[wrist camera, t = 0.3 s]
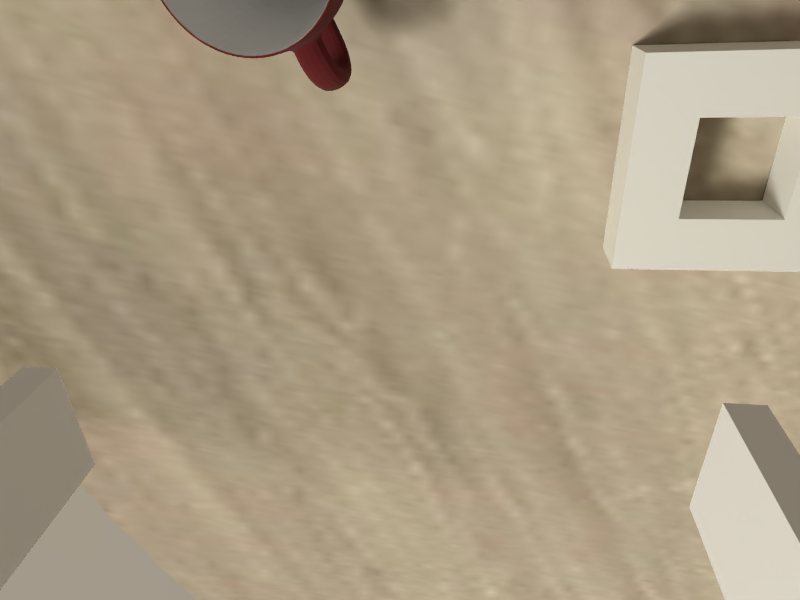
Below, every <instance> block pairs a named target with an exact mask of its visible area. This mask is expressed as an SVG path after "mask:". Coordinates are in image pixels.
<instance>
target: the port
mask: <svg viewBox="0 0 800 600" xmlns="http://www.w3.org/2000/svg"><path fill="white" fill-rule="evenodd" d="M722 117H786V118H785V122H784V125H783V129H782V133H781V136H780V140H779V143H778V147H777V150H776V154H775V157H774V161H773V164H772V168H771V172H770V175H769V179H768V182H767V186H766V189H765V193H764V196H763V200H762V201H702V200H683V196H684V191H685V187H686V182H687V177H688V172H689V168H690V163H691V158H692V153H693V149H694V144H695V139H696V134H697V130H698V125H699V120H700V118H722ZM603 249H604V252H605V254H606V256H607V258H608V261H609V263H610V265H611V268H612V269H658V270H718V271H778V272H800V41H772V42H735V43H698V44H661V45H632V51H631V58H630V65H629V72H628V78H627V85H626V92H625V99H624V106H623V113H622V120H621V126H620V133H619V140H618V147H617V154H616V161H615V167H614V174H613V181H612V188H611V195H610V202H609V209H608V215H607V222H606V229H605V236H604V243H603Z"/></svg>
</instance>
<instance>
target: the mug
mask: <svg viewBox="0 0 800 600" xmlns="http://www.w3.org/2000/svg"><path fill="white" fill-rule="evenodd" d="M161 1H162V3H163V4H164V6H165V7H166V8H167V10H168V11H169V12H170V14H171V15H172V16H173V17H174V19H175V20H176V21H177V22H178V23H179V24H180V25H181V26H182V27H183V28H184V29H185V30H186V31H187V32H189V33H190V34H191V35H192V36H193V37H195V38H196V39H198V40H199V41H200V42H202V43H204V44H205V45H207V46H209V47H211V48H213V49H215V50H217V51H220V52H222V53H225V54H228V55H232V56H236V57H243V58H264V57H269V56H274V55H277V54H281V53H284V52H287V51H293V52H294V53H295V55H296V57H297V59H298V61H299V63H300V65H301V67H302V69H303V70H304V72H305V73H306V75H307V76H308V78H309V79H310V80H311V81H312V82H313V83H314V84H315V85H316V86H317V87H319V88H321V89H323V90H325V91H333V90H336V89H339V88H341V87H342V86H344V85H345V84H346V83H347V82H348V81H349V79H350V76H351V62H350V58H349V54H348V51H347V48H346V45H345V43H344V40H343V38H342V36H341V34H340V31H339V29H338V27H337V25H336V23H335V21H334V19H333V18H334V16H335V15H336V13H337V12H338V10H339V8H340V6H341V5H342V3H343V0H161Z"/></svg>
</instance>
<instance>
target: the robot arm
mask: <svg viewBox="0 0 800 600" xmlns="http://www.w3.org/2000/svg"><path fill="white" fill-rule="evenodd" d="M94 465H95V462H94V460H93V457H92V455H91V452H90V450H89V447H88V445H87V442H86V440H85V437H84V435H83V432H82V430H81V427H80V425H79V422H78V420H77V417H76V415H75V412H74V409H73V407H72V404H71V402H70V399H69V397H68V394H67V392H66V389H65V387H64V384H63V382H62V379H61V377H60V374H59V372H58V369H57V368H44V367H25V366H23V367H22V368H21V369H20V370H19V371H17V372H16V373H15V374H14V375H13V376H12V377H11V378H10V379H9V380H7V381H6V382H5V383H4V384H3V385H2V386H1V387H0V590H1V588H2V587H3V585H4V584H5V583H6V581H7V580H8V579H9V577H10V576H11V575H12V573H13V572H14V571H15V570H16V568H17V567H18V566H19V564H20V563H21V562H22V560H23V559H24V558H25V556H26V555H27V553H28V552H29V551H30V549H31V548H32V547H33V546H34V544H35V543H36V542H37V540H38V539H39V538H40V537H41V535H42V534H43V533H44V531H45V530H46V529H47V527H48V526H49V525H50V523H51V522H52V520H53V519H54V518H55V516H56V515H57V514H58V513H59V511H60V510H61V509H62V507H63V506H64V505H65V503H66V502H67V501H68V499H69V498H70V496H71V495H72V494H73V493H74V491H75V490H76V489H77V487H78V486H79V485H80V484H81V482H82V481H83V480H84V478H85V477H86V476H87V474H88V473H89V472H90V470H91V469H92V468H93V466H94ZM689 507H690V509H691V512H692V515H693V517H694V520H695V522H696V525H697V528H698V530H699V533H700V535H701V538H702V541H703V543H704V546H705V548H706V551H707V554H708V556H709V559H710V562H711V564H712V567H713V569H714V572H715V575H716V577H717V580H718V582H719V585H720V588H721V590H722V593H723V595H724V598H725V600H800V455H799V453H798V452H797V450H796V449H795V447H794V446H793V444H792V443H791V441H790V439H789V438H788V436H787V435H786V433H785V432H784V430H783V429H782V427H781V425H780V424H779V422H778V421H777V419H776V418H775V416H774V415H773V413H772V412H771V410H770V408H769V407H768V405H750V404H731V403H723V405H722V408H721V411H720V414H719V417H718V420H717V423H716V426H715V429H714V432H713V435H712V439H711V442H710V445H709V448H708V451H707V454H706V457H705V460H704V463H703V466H702V469H701V472H700V476H699V479H698V482H697V485H696V488H695V491H694V494H693V497H692V500H691V503H690V506H689Z"/></svg>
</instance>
